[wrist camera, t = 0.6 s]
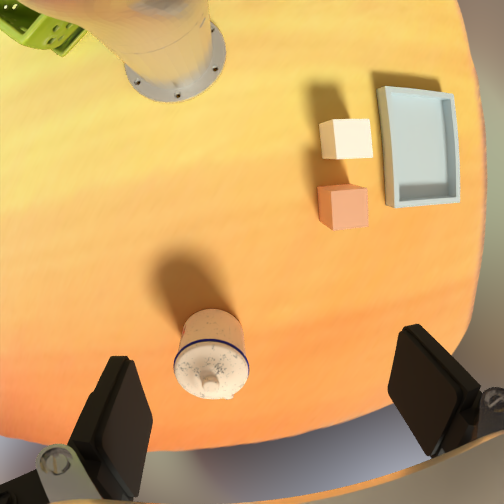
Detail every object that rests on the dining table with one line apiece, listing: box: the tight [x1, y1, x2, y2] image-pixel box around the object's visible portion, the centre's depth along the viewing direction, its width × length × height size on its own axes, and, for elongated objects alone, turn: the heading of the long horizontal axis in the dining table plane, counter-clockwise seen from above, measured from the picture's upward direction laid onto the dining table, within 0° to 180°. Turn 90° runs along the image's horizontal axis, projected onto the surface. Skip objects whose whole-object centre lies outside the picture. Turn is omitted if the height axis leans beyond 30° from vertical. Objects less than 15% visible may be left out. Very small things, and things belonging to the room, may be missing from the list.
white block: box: [319, 119, 373, 159], centre depth 35 cm, size 4×4×6 cm
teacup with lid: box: [174, 309, 249, 399], centre depth 39 cm, size 12×9×12 cm
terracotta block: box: [317, 184, 368, 231], centre depth 37 cm, size 4×4×6 cm
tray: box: [376, 86, 460, 208], centre depth 37 cm, size 16×12×3 cm
